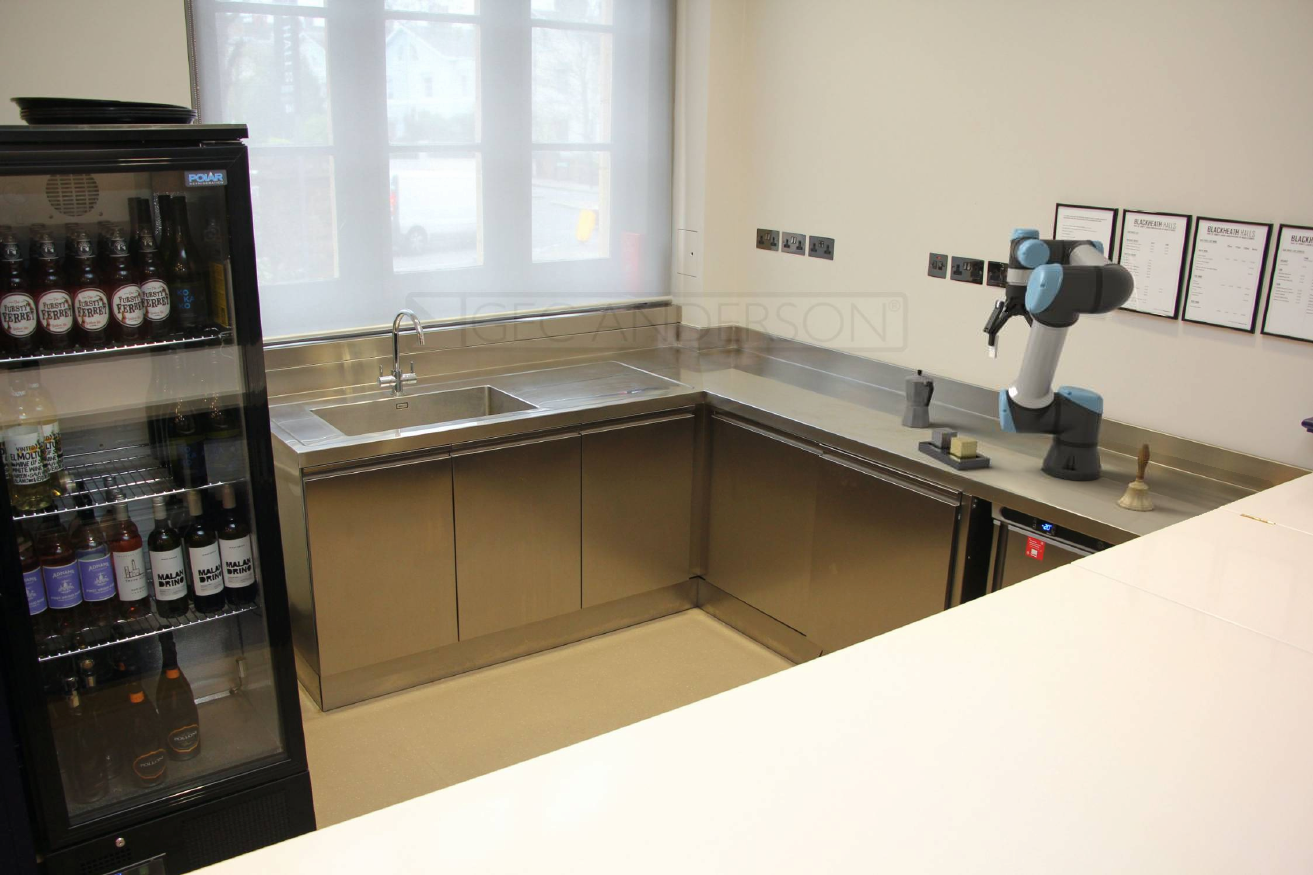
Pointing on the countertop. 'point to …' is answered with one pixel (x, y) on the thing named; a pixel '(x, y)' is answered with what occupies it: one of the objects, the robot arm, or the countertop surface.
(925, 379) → the coffeepot
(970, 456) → the yellow block
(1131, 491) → the hand bell
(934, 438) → the grey block
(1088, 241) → the robot arm
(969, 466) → the dark grey tray
